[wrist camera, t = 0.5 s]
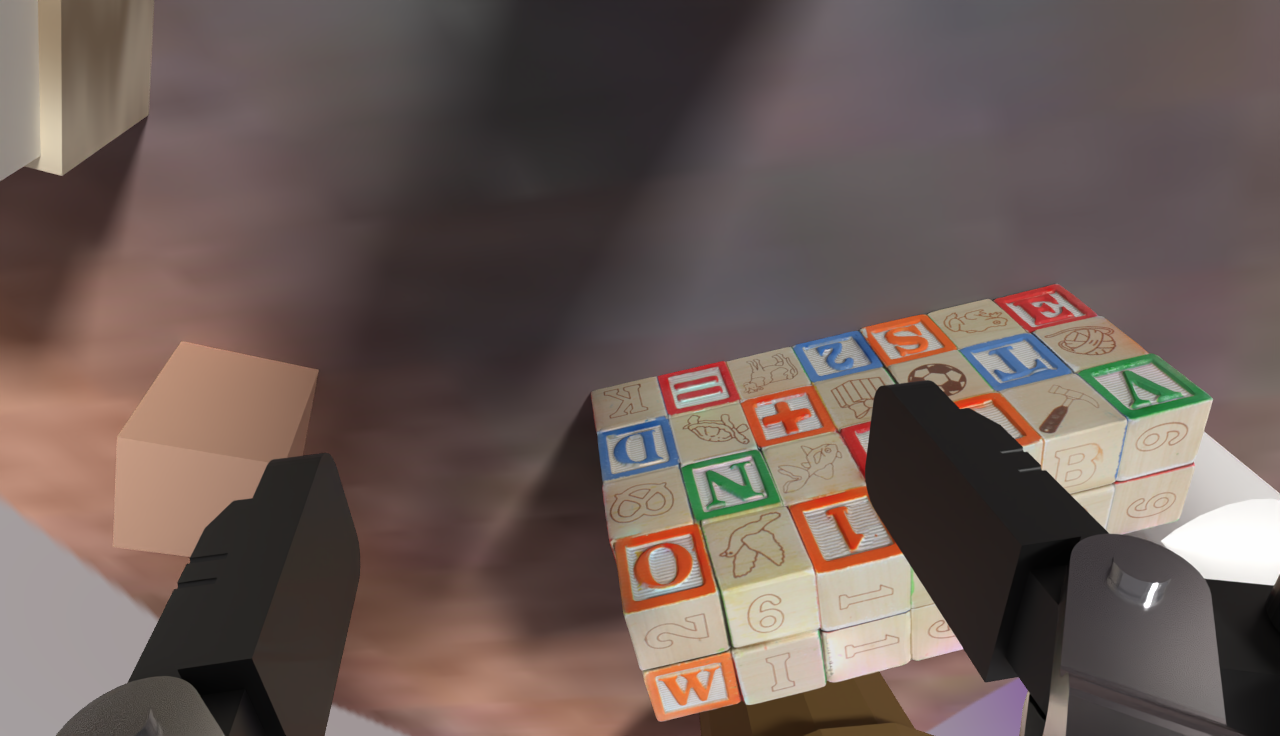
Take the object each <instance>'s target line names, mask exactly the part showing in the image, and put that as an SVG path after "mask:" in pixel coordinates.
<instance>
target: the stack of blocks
mask: <svg viewBox="0 0 1280 736" xmlns="http://www.w3.org/2000/svg"><path fill="white" fill-rule="evenodd" d="M924 380H930V381H933V382H934V383H935V384H937V385H938V386H939V387H940V389H941V390H942V391H943V392H944V393H945V394H946V395H947V396H948V397H949V398H950V399H951V400H952V401H953V402H954V403H955V404H956V405H957V406H958V407H959V409H964V408H970V409H972V410H974V411H976V412H977V413H979V414H981V415H983V416H985V417H987V418H989V419H990V420H992V421H994V422H996V423H998V424H1000V425H1001V426H1002V427H1003V428H1004V429H1005V430H1006V431H1007V432H1008V433H1009V434H1010V435H1011V436H1012V437H1013V438H1014V439H1015V440H1016V441H1017V442H1018V443H1019V444H1020V445H1021V446H1022V447H1023V451H1024V452H1028V453H1029V454H1030V455H1031V456H1032V457H1033V458H1034V459H1035V460H1036V461H1037V462H1038V463H1039V464H1040V465H1041V469H1042V470H1046V471H1047V472H1048V473H1049V474H1050V475H1051V476H1052V477H1053V478H1054V479H1055V480H1056V481H1057V482H1058V483H1059V484H1060V485H1061V486H1062V487H1063V488H1064V489H1065V490H1066V491H1067V492H1068V493H1069V494H1070V495H1071V496H1072V497H1073V498H1074V499H1075V500H1076V501H1077V502H1078V503H1079V504H1080V505H1081V506H1082V507H1083V508H1084V509H1085V510H1086V511H1087V512H1088V513H1089V514H1090V515H1091V516H1092V517H1093V518H1094V519H1095V520H1096V521H1097V522H1098V523H1099V524H1100V525H1101V526H1102V527H1103V528H1104V529H1105V530H1106V531H1107V532H1108V533H1109V534H1121V535H1122V534H1126V533H1130V532H1134V531H1138V530H1143V529H1148V528H1152V527H1155V526H1158V525H1163V524H1167V523H1172V522H1175V521H1178V520H1179V519H1180V516H1181V513H1182V510H1183V506H1184V502H1185V499H1186V496H1187V492H1188V489H1189V486H1190V483H1191V479H1192V476H1193V473H1194V470H1195V464H1194V460H1195V458H1196V456H1197V453H1198V450H1199V446H1200V443H1201V440H1202V436H1203V433H1204V429H1205V425H1206V422H1207V419H1208V415H1209V412H1210V408H1211V405H1212V401H1213V399H1212V398H1211V397H1210V396H1209V395H1208V394H1207V393H1206V392H1205V391H1203V390H1202V389H1200V388H1199V387H1198V386H1196V385H1195V384H1194V383H1192V382H1191V381H1190V380H1189V379H1187V378H1186V377H1185V376H1184V375H1182V374H1181V373H1180V372H1178V371H1177V370H1176V369H1174V368H1173V367H1171V366H1170V365H1169V364H1168V363H1167V362H1165V361H1164V360H1162V359H1161V358H1160V357H1159V356H1157V355H1155V354H1149V353H1148V352H1147V351H1146V350H1144V349H1143V348H1142V347H1141V346H1140V345H1138V344H1137V343H1136V342H1135V341H1134V340H1132V339H1131V338H1130V337H1128V336H1127V335H1126V334H1124V333H1123V332H1122V331H1121V330H1119V329H1118V328H1117V327H1115V326H1114V325H1113V324H1111V323H1110V322H1109V321H1108V320H1107V319H1105V318H1104V317H1102V316H1098V315H1097V314H1096V313H1095V312H1094V311H1092V310H1091V309H1090V308H1089V307H1087V306H1086V305H1085V304H1084V303H1083V302H1082V301H1080V300H1079V299H1078V298H1077V297H1075V296H1074V295H1073V294H1071V293H1070V292H1069V291H1067V290H1066V289H1064V288H1063V287H1062V286H1060V285H1059V284H1054V285H1049V286H1046V287H1042V288H1038V289H1034V290H1030V291H1026V292H1022V293H1018V294H1014V295H1009V296H1006V297H1003V298H997V299H995V300H993V301H991V300H990V299H985V300H981V301H976V302H972V303H967V304H963V305H959V306H955V307H950V308H946V309H942V310H938V311H935V312H931V313H929V314H927V315H917V316H912V317H908V318H903V319H899V320H894V321H890V322H885V323H881V324H877V325H873V326H868V327H864V328H862V329H860V330H859V331H853V332H848V333H844V334H840V335H836V336H832V337H827V338H823V339H819V340H815V341H810V342H806V343H801V344H797V345H795V346H793V347H787V348H782V349H778V350H774V351H770V352H765V353H761V354H757V355H753V356H749V357H744V358H740V359H736V360H732V361H728V362H724V361H722V362H718V363H713V364H708V365H704V366H700V367H696V368H692V369H687V370H683V371H678V372H674V373H670V374H666V375H661V376H658V377H651V378H646V379H642V380H637V381H633V382H629V383H624V384H620V385H616V386H612V387H607V388H603V389H599V390H595V391H592V392H591V401H592V406H593V414H594V421H595V428H596V433H597V436H598V448H599V457H600V465H601V473H602V481H603V486H602V492H603V502H604V506H605V516H606V521H607V530H608V536H609V542H610V546H611V549H612V552H613V555H614V558H615V561H616V564H617V570H618V577H619V584H620V592H621V600H622V607H623V614H624V617H625V620H626V623H627V627H628V630H629V633H630V637H631V640H632V643H633V647H634V650H635V653H636V657H637V660H638V664H639V667H640V669H641V670H642V672H643V677H644V681H645V684H646V688H647V691H648V694H649V697H650V700H651V703H652V706H653V709H654V712H655V716H656V718H657V720H658V721H660V722H662V721H666V720H671V719H675V718H679V717H683V716H687V715H691V714H695V713H699V712H703V711H708V710H713V709H717V708H721V707H725V706H729V705H734V704H738V703H739V702H741V701H743V702H744V703H745V704H746V705H753V704H757V703H762V702H766V701H770V700H774V699H778V698H782V697H786V696H790V695H794V694H798V693H802V692H806V691H810V690H814V689H818V688H821V687H824V686H825V685H826V682H827V681H829V682H840V681H844V680H848V679H851V678H855V677H859V676H862V675H867V674H872V673H875V672H878V671H882V670H886V669H889V668H893V667H898V666H902V665H904V664H907V663H908V662H909V661H910V660H916V661H918V660H922V659H926V658H930V657H934V656H938V655H942V654H946V653H950V652H954V651H958V650H962V649H963V647H962V646H961V644H960V643H959V641H958V639H957V638H956V636H955V635H954V633H953V632H952V630H951V628H950V627H949V625H948V624H947V622H946V621H945V619H944V617H943V616H942V614H941V613H940V611H939V610H938V608H937V607H936V605H935V603H934V602H933V600H932V599H931V597H930V596H929V594H928V592H927V591H926V589H925V588H924V586H923V585H922V583H921V581H920V580H919V578H918V577H917V575H916V574H915V572H914V571H913V569H912V567H911V566H910V564H909V563H908V561H907V560H906V558H905V556H904V555H903V553H902V552H901V550H900V549H899V547H898V546H897V544H896V542H895V541H894V539H893V538H892V536H891V535H890V533H889V531H888V530H887V528H886V527H885V525H884V524H883V522H882V520H881V519H880V517H879V516H878V514H877V513H876V511H875V509H874V508H873V506H872V503H871V501H870V498H869V495H868V492H867V487H866V481H865V464H866V456H867V449H868V441H869V433H870V425H871V417H872V409H873V401H874V396H875V393H876V391H877V389H878V388H879V387H880V386H884V385H892V384H900V383H908V382H916V381H924Z"/></svg>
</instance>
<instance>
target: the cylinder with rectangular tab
mask: <svg viewBox="0 0 1280 736" xmlns="http://www.w3.org/2000/svg"><path fill="white" fill-rule="evenodd" d="M1194 464H1195V470H1194V473H1193V476H1192V479H1191V483H1190V486H1189V489H1188V492H1187V496H1186V499H1185V502H1184V506H1183V510H1182V513H1181V516H1180V519H1179V520H1178V521H1175V522H1172V523H1167V524H1163V525H1158V526H1155V527H1152V528H1148V529H1143V530H1138V531H1134V532H1130V533H1126V534H1122V535H1129V536H1133V537H1138V538H1141V539H1145V540H1148V541H1151V542H1153V543H1156V544H1158V545H1161V546H1163V547H1165V548H1167V549H1169V550H1171V551H1173V552H1174V553H1176V554H1177V555H1179V556H1181V557H1182V558H1184V559H1185V560H1186V561H1187V562H1189V563H1190V564H1191V565H1192V566H1193V567H1194V568H1195V569H1196V570H1197V571H1199V573H1200V574H1201V575H1202V576H1203V578H1204V579H1213V580H1223V581H1233V582H1243V583H1253V584H1263V585H1275V583H1276V581H1277V579H1278V577H1279V575H1280V493H1279V492H1277V491H1276V490H1275V489H1274V488H1272V487H1271V486H1270V485H1269V484H1268V483H1266V482H1265V481H1264V480H1263V479H1261V478H1260V477H1259V476H1258V475H1257V474H1255V473H1254V472H1253V471H1252V470H1250V469H1249V468H1248V467H1247V466H1246V465H1244V464H1243V463H1242V462H1241V461H1239V460H1238V459H1237V458H1236V457H1235V456H1233V455H1232V454H1231V453H1230V452H1228V451H1227V450H1226V449H1225V448H1224V447H1222V446H1221V445H1220V444H1219V443H1217V442H1216V441H1215V440H1214V439H1213V438H1211V437H1210V436H1209V435H1208V434H1206V433H1205V432H1204V433H1203V436H1202V440H1201V443H1200V446H1199V450H1198V453H1197V456H1196V458H1195V460H1194Z"/></svg>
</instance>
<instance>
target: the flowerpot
mask: <svg viewBox="0 0 1280 736" xmlns="http://www.w3.org/2000/svg"><path fill="white" fill-rule="evenodd" d="M699 715H700V726H701V736H934V735H931V734H928V733H925V732H922V731H919V730H916V729H915V728H914V727H913V725H912V723H911V722H910V720H909V719H908V717H907V715H906V714H905V712H904V711H903V709H902V707H901V706H900V704H899V703H898V701H897V699H896V698H895V696H894V695H893V693H892V691H891V690H890V688H889V687H888V685H887V683H886V682H885V680H884V679H883V677H882V675H881V674H880V672H879V671H878V672H875V673H872V674H867V675H862V676H859V677H855V678H851V679H848V680H844V681H840V682H829V681H827V682H826V685H825V686H824V687H821V688H818V689H814V690H810V691H806V692H802V693H798V694H794V695H790V696H786V697H782V698H778V699H774V700H770V701H766V702H762V703H757V704H753V705H746V704H745V703H744V702H743V701H741V702H739V703H738V704H734V705H729V706H725V707H721V708H717V709H713V710H708V711H703V712H699Z"/></svg>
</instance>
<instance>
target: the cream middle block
mask: <svg viewBox="0 0 1280 736" xmlns="http://www.w3.org/2000/svg"><path fill="white" fill-rule="evenodd" d="M39 156H41V148H40V93H39V37H38V0H0V181H1V180H3V179H5V178H6V177H8V176H9V175H11V174H13V173H14V172H16V171H17V170H19V169H20V168H22V167H24V166H25V165H27V164H28V163H30V162H32V161H33V160H35V159H36V158H38V157H39Z"/></svg>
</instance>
